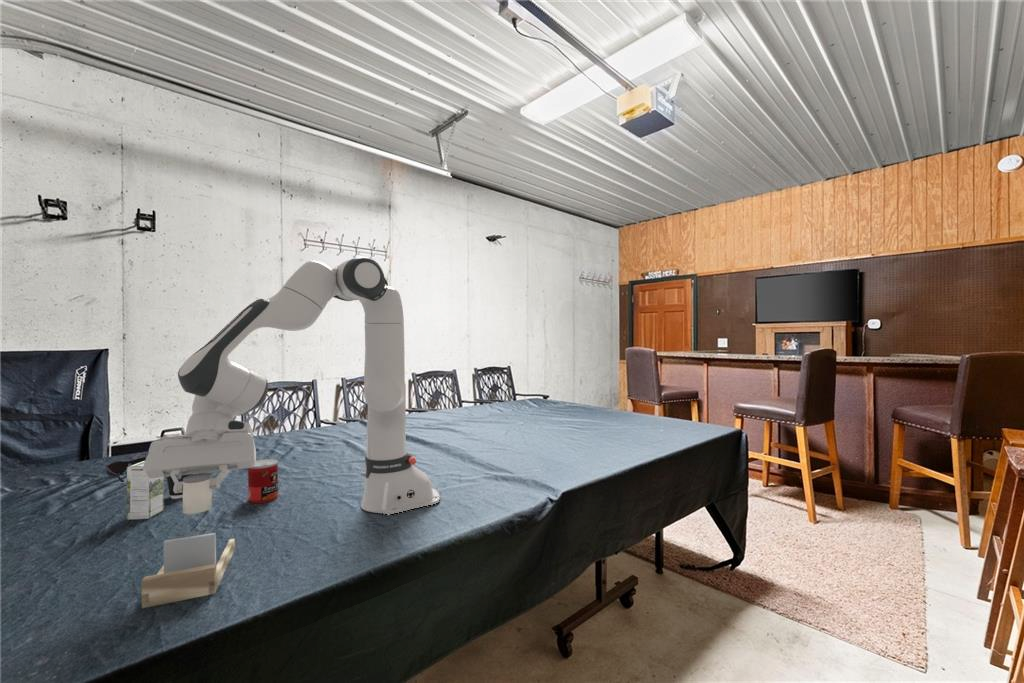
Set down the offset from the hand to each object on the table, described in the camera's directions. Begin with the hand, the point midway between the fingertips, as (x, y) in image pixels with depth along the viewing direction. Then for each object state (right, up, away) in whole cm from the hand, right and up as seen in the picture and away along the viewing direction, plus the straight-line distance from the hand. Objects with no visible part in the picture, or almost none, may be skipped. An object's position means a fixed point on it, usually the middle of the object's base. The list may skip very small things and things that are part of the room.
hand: (196, 489), depth 89 cm
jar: (0, -4, +1) cm, 4 cm away
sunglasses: (-68, -17, +61) cm, 93 cm away
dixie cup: (-36, -17, +42) cm, 58 cm away
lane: (+1, -17, -2) cm, 17 cm away
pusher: (+2, -17, -4) cm, 17 cm away
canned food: (-9, -17, +39) cm, 44 cm away
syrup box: (-34, -17, +27) cm, 47 cm away
